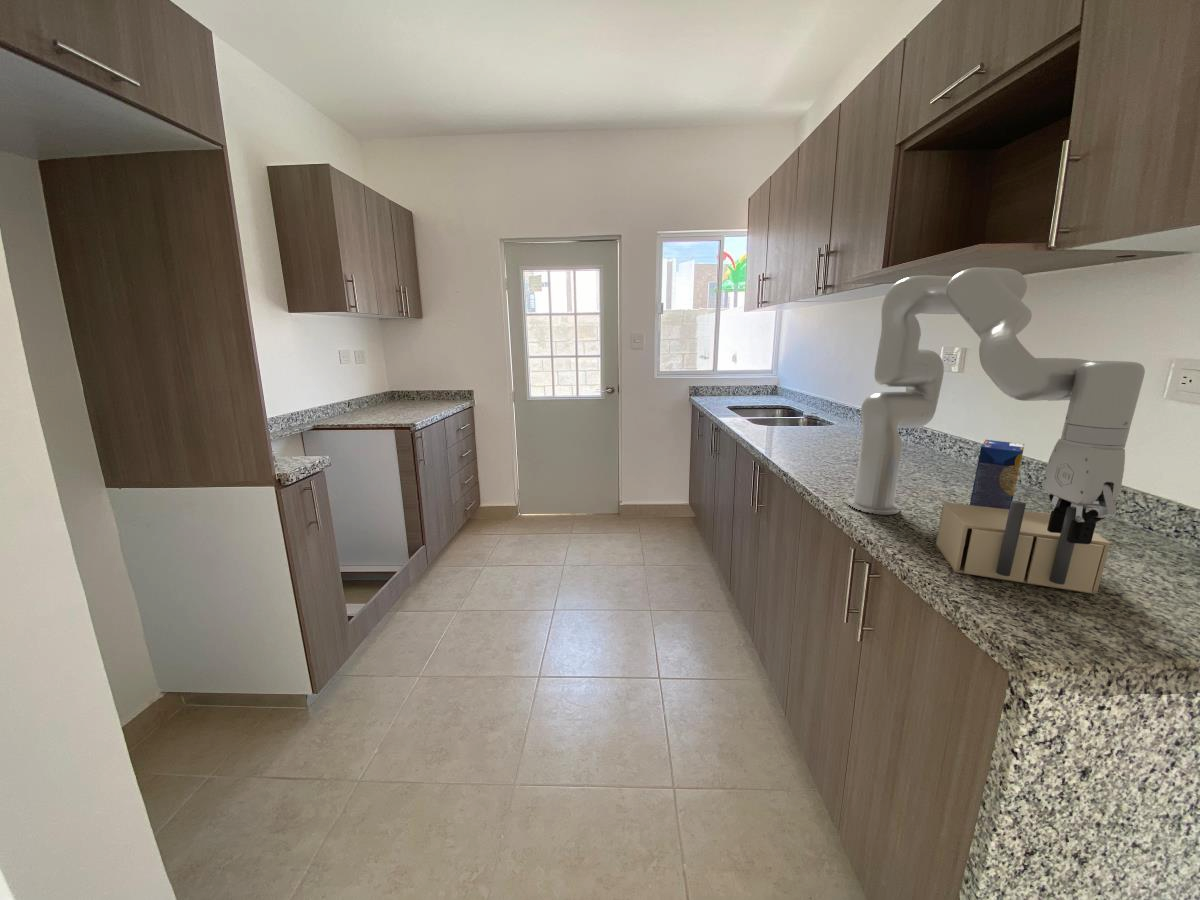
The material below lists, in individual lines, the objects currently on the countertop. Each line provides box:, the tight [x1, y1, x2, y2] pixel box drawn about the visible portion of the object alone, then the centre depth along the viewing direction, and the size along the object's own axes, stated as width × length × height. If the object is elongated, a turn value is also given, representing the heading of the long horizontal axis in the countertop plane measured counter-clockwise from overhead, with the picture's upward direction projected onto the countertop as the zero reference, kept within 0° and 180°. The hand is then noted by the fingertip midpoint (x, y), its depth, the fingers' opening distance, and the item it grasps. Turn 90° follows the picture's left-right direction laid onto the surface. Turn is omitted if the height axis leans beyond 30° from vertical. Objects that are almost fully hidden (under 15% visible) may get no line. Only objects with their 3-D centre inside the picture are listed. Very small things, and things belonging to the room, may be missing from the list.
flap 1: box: [964, 500, 1034, 583], centre depth 85 cm, size 2×9×16 cm, turn 67°
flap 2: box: [1026, 506, 1104, 594], centre depth 81 cm, size 2×9×16 cm, turn 67°
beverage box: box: [969, 439, 1025, 509], centre depth 104 cm, size 7×11×22 cm, turn 137°
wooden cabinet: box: [935, 501, 1111, 595], centre depth 92 cm, size 14×21×10 cm, turn 67°
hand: (1068, 536), depth 81 cm, fingers open, 3 cm apart
